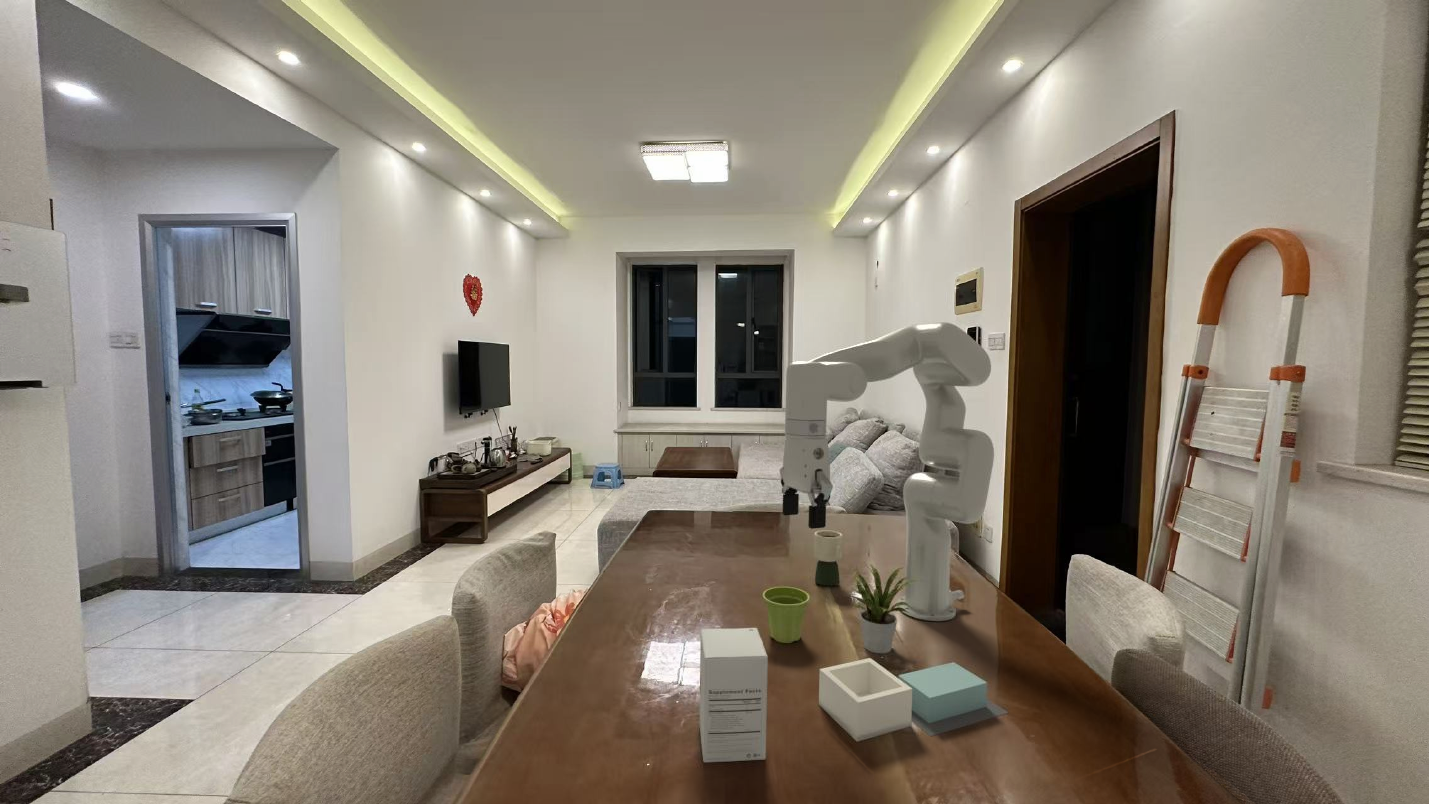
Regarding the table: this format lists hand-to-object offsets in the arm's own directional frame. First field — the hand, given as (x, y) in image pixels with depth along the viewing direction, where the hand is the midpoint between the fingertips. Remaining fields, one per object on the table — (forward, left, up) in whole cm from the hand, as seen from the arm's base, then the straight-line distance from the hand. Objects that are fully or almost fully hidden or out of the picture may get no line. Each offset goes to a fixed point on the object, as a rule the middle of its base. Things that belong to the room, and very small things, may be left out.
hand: (803, 520), depth 105 cm
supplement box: (+22, +17, -27) cm, 38 cm away
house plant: (-18, +2, -27) cm, 32 cm away
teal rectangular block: (-14, +21, -26) cm, 36 cm away
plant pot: (-2, -9, -27) cm, 28 cm away
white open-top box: (0, +19, -26) cm, 32 cm away
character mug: (-27, -31, -27) cm, 49 cm away
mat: (-14, +21, -26) cm, 36 cm away
